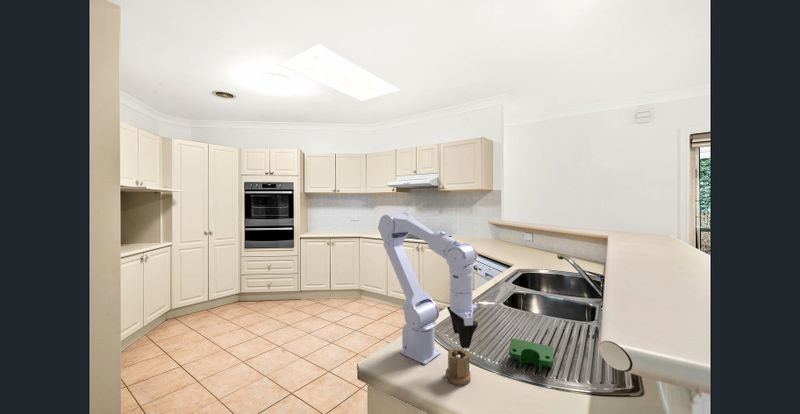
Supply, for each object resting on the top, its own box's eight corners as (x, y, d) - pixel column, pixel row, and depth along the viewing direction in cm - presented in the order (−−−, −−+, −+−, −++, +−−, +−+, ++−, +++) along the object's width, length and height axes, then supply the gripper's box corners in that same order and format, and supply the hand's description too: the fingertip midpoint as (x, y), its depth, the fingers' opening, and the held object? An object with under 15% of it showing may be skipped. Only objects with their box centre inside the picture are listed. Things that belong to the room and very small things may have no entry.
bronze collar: (444, 373, 80) (444, 354, 80) (455, 364, 84) (455, 346, 84) (462, 381, 77) (462, 362, 76) (472, 371, 81) (472, 353, 80)
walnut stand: (441, 378, 80) (441, 373, 80) (453, 367, 85) (453, 362, 85) (462, 389, 76) (462, 383, 76) (474, 377, 81) (474, 371, 81)
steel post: (453, 372, 80) (453, 355, 80) (456, 370, 82) (456, 352, 81) (459, 375, 79) (459, 357, 79) (462, 372, 80) (462, 354, 80)
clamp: (516, 380, 86) (502, 353, 85) (518, 364, 91) (505, 338, 91) (560, 377, 80) (545, 348, 79) (560, 360, 85) (546, 333, 84)
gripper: (485, 299, 74) (484, 353, 75) (468, 281, 88) (468, 326, 89) (456, 300, 74) (456, 354, 74) (444, 282, 88) (444, 327, 89)
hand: (461, 339), depth 82 cm, fingers open, 7 cm apart
